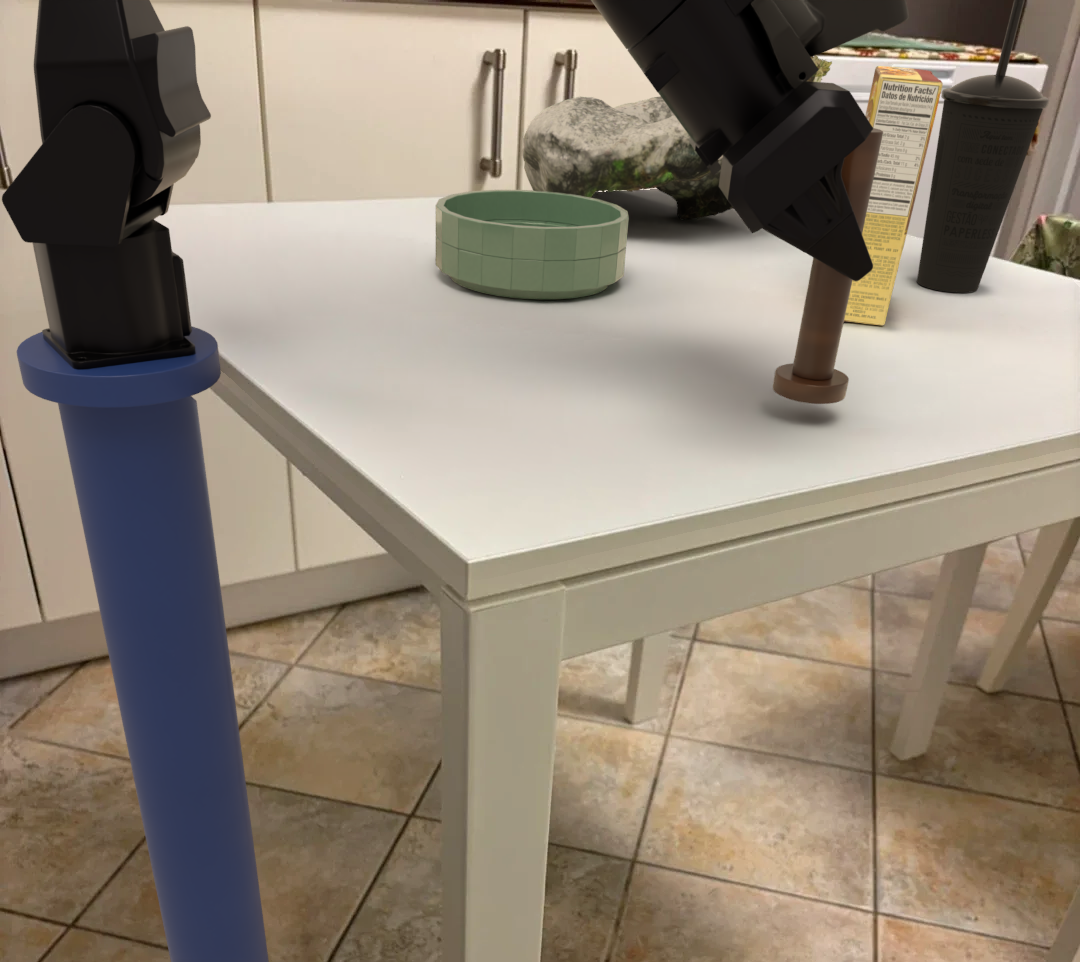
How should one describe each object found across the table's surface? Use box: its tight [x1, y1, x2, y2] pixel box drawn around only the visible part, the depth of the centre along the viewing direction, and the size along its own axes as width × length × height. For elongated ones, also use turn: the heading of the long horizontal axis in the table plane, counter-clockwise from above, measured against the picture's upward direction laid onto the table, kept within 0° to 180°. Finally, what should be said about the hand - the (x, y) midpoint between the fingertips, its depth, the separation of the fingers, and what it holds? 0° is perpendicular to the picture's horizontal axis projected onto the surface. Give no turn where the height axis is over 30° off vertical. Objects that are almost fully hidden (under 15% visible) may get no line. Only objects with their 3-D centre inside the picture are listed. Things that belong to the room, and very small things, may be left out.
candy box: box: [844, 65, 944, 326], centre depth 78 cm, size 9×4×15 cm, turn 168°
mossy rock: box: [521, 55, 833, 221], centre depth 104 cm, size 29×30×15 cm
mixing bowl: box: [435, 189, 630, 301], centre depth 83 cm, size 14×14×5 cm
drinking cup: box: [916, 0, 1050, 294], centre depth 84 cm, size 8×8×20 cm
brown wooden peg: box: [772, 128, 883, 405], centre depth 57 cm, size 4×4×13 cm
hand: (859, 268), depth 57 cm, fingers closed on brown wooden peg, 2 cm apart
